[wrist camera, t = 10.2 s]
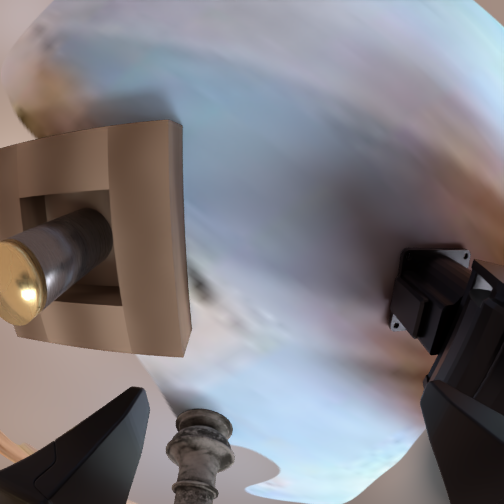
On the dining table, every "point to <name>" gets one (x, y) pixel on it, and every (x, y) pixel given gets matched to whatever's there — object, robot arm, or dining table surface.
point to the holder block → (123, 230)
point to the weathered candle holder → (200, 454)
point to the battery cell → (49, 262)
